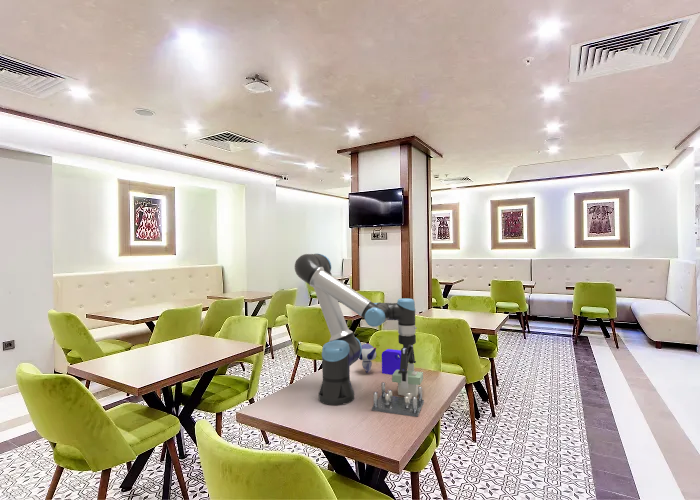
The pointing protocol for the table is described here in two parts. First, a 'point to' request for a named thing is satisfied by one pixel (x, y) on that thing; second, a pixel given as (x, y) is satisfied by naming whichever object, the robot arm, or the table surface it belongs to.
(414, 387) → the block
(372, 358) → the toy
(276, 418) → the table surface
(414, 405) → the chassis
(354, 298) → the robot arm
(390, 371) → the bracket
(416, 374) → the board
